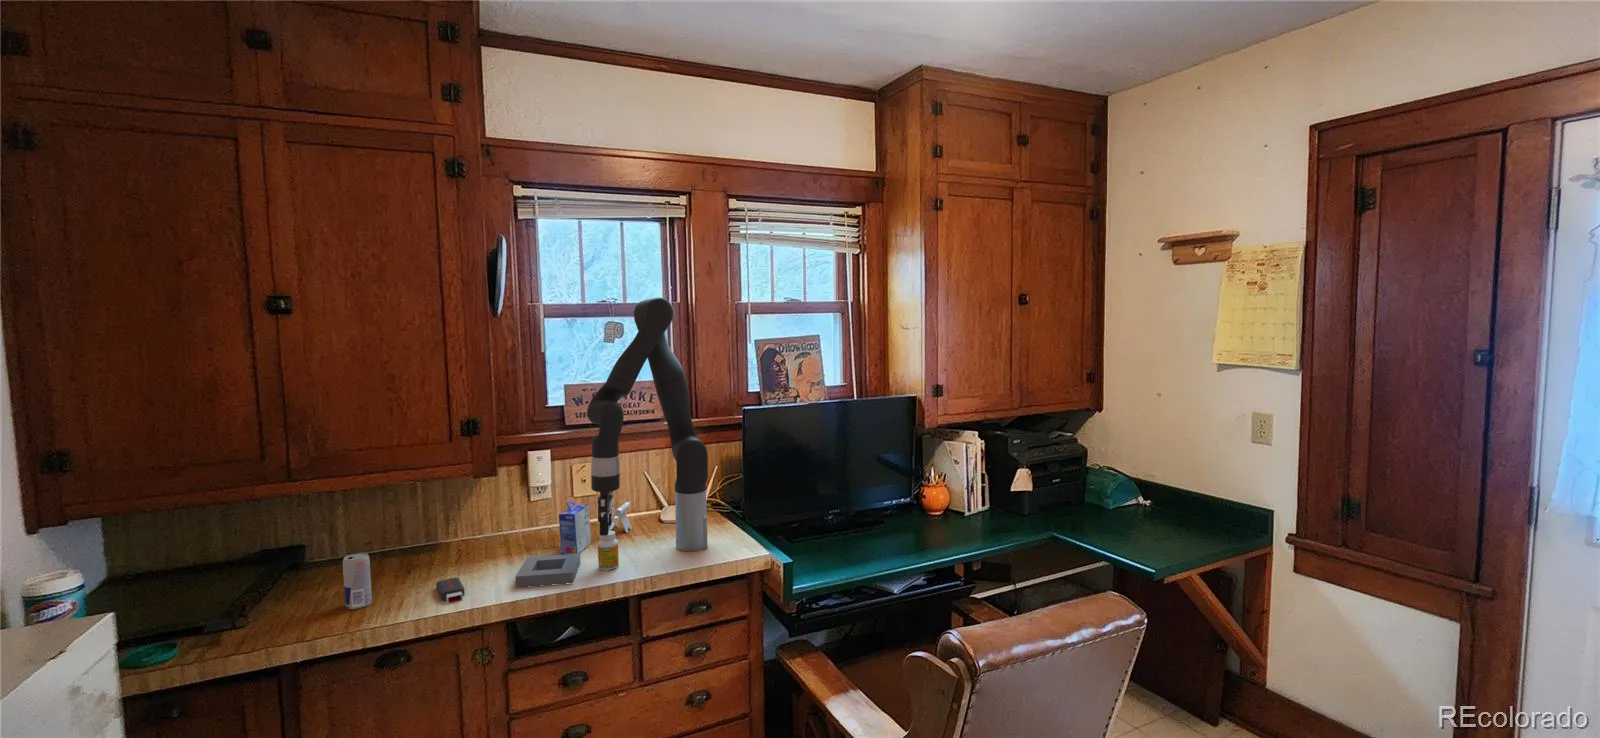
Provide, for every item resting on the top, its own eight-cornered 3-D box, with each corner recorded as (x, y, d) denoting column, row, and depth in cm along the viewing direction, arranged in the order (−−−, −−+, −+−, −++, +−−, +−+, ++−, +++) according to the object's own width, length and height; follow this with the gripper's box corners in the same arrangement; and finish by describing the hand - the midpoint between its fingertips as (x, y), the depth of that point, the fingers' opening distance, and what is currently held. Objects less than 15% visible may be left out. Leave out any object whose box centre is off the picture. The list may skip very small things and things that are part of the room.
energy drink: (353, 600, 162) (350, 553, 161) (376, 599, 163) (373, 552, 162) (340, 610, 157) (337, 561, 156) (364, 609, 157) (361, 560, 156)
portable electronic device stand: (611, 526, 219) (610, 501, 218) (634, 527, 218) (633, 502, 218) (600, 534, 211) (600, 509, 210) (624, 535, 210) (624, 509, 209)
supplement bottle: (600, 572, 179) (599, 537, 179) (596, 565, 184) (595, 531, 183) (620, 568, 182) (619, 534, 181) (616, 562, 187) (615, 528, 186)
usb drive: (458, 585, 172) (458, 574, 172) (467, 601, 163) (466, 590, 163) (436, 589, 169) (435, 579, 169) (443, 606, 160) (442, 595, 160)
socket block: (580, 563, 185) (580, 553, 185) (573, 583, 172) (572, 572, 172) (527, 567, 183) (527, 557, 183) (515, 588, 169) (515, 576, 169)
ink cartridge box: (574, 543, 203) (572, 496, 202) (591, 543, 202) (590, 497, 201) (559, 554, 193) (557, 505, 192) (577, 555, 192) (576, 506, 191)
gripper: (617, 477, 175) (617, 538, 176) (621, 466, 189) (622, 521, 190) (587, 478, 174) (588, 539, 175) (594, 466, 188) (595, 522, 189)
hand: (605, 530), depth 182 cm, fingers open, 8 cm apart
